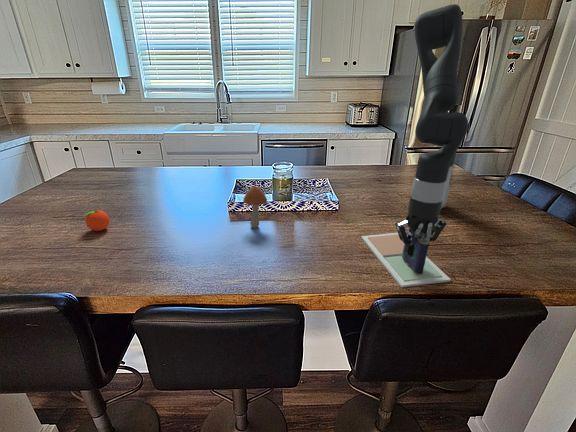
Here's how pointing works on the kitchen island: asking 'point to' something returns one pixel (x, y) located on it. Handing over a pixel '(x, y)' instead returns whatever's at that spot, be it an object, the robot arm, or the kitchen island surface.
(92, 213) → the clementine
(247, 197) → the mushroom
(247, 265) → the kitchen island surface
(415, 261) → the flask
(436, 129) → the robot arm
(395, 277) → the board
